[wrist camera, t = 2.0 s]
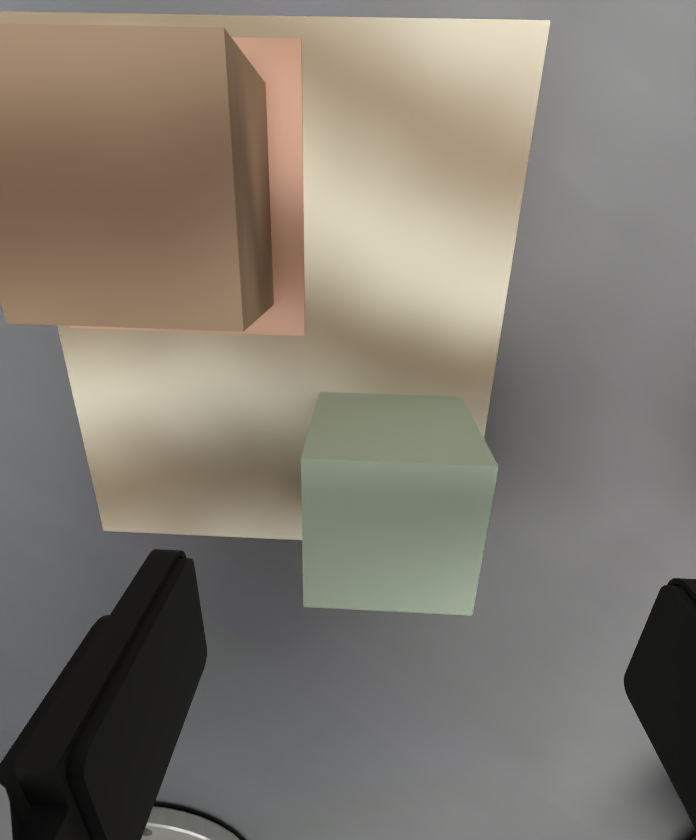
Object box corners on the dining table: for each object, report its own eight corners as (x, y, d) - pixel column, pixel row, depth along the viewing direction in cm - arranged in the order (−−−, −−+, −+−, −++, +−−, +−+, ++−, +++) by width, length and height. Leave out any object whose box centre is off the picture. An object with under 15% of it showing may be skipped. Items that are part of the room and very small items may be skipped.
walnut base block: (273, 304, 15) (243, 331, 11) (93, 298, 15) (6, 323, 12) (265, 83, 13) (223, 27, 9) (51, 79, 13) (-75, 22, 9)
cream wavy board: (462, 532, 20) (467, 549, 19) (115, 516, 20) (102, 532, 19) (537, 34, 13) (551, 19, 12) (12, 25, 13) (-17, 9, 12)
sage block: (446, 516, 18) (472, 615, 14) (319, 510, 18) (303, 606, 14) (461, 396, 16) (498, 466, 12) (319, 391, 16) (300, 458, 12)
